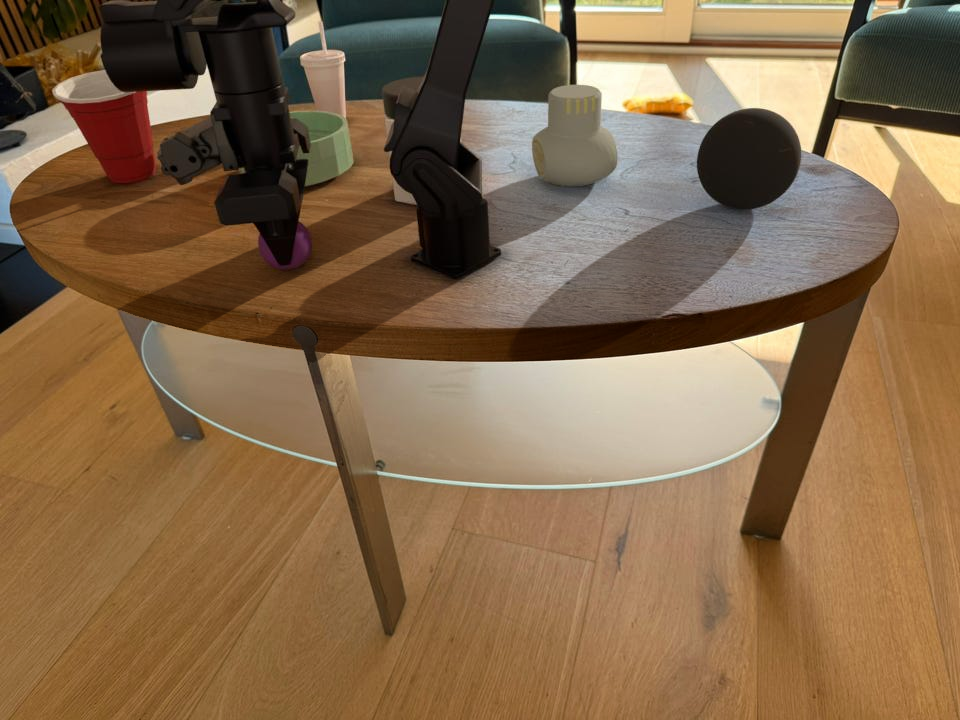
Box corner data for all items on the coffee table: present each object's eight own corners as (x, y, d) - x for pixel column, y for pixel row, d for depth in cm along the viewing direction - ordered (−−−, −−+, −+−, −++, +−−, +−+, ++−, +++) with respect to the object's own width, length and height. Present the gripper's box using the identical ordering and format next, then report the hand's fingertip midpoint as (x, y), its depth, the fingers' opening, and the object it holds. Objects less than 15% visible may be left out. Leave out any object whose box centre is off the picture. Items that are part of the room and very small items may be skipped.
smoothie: (346, 130, 103) (329, 26, 95) (305, 129, 104) (285, 26, 96) (360, 116, 108) (346, 16, 100) (321, 116, 109) (303, 17, 101)
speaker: (702, 182, 81) (714, 92, 75) (795, 194, 77) (816, 100, 71) (681, 217, 74) (693, 120, 68) (783, 231, 70) (805, 130, 64)
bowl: (376, 165, 91) (370, 122, 88) (284, 202, 83) (274, 156, 79) (310, 144, 99) (302, 104, 96) (220, 176, 91) (208, 133, 87)
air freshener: (620, 192, 80) (627, 101, 74) (549, 200, 79) (549, 109, 73) (593, 158, 89) (597, 75, 83) (529, 165, 88) (528, 82, 82)
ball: (326, 263, 69) (317, 216, 67) (284, 284, 67) (272, 235, 64) (296, 249, 72) (286, 204, 69) (254, 268, 69) (242, 221, 66)
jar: (465, 205, 79) (458, 95, 72) (392, 210, 79) (378, 100, 72) (464, 175, 86) (457, 72, 79) (397, 180, 86) (384, 77, 79)
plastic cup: (83, 198, 87) (43, 97, 80) (92, 169, 95) (56, 75, 88) (176, 183, 89) (145, 84, 82) (177, 156, 98) (148, 64, 91)
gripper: (174, 66, 66) (219, 220, 75) (118, 128, 51) (182, 311, 60) (294, 56, 67) (324, 210, 76) (274, 114, 52) (314, 297, 61)
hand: (287, 252), depth 69 cm, fingers closed on ball, 5 cm apart
